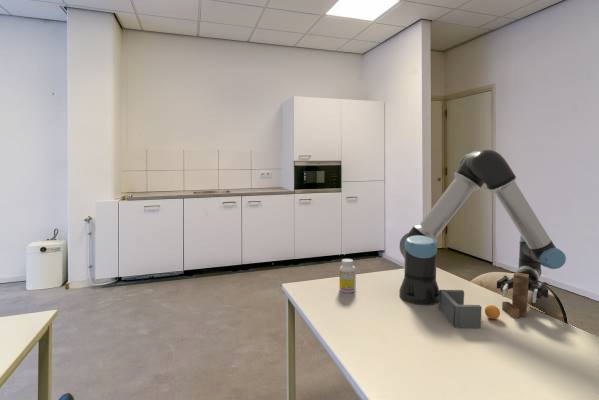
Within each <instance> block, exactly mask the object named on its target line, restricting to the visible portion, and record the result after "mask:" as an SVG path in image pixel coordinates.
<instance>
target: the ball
mask: <svg viewBox="0 0 599 400" xmlns="http://www.w3.org/2000/svg"><path fill="white" fill-rule="evenodd" d="M500 311H501V310H500V309H499V307H497V305H495V304H488V305H487V306H486V307H485V308H484V314H485V316H486V317H487V318H488V319H491V320H496V319H498V318H499V317H500V315H501V312H500Z"/></svg>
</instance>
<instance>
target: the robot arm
mask: <svg viewBox="0 0 599 400" xmlns="http://www.w3.org/2000/svg"><path fill="white" fill-rule="evenodd" d="M453 174H454V179H453V180H452V182H451V183H450V184H449V186H448V187H447V188H446V189H445V191H444V192H443V193H442V195H441V196H440V198H439V199H437V201H436V203H434V205H433V207H431V209H430V211H429V212H428V213H427V215H426V216H425V217H424V218H423V219H422V221H421V222H420V223H419V224H417V225H413V226H412V228H411V229H410V230H409V232H407V233H405V234H404V235H403V236H402V237H401V239H400V241H399V251H400V253H401V255H402V256H403V259H404V277H403V280H402V283H401V286H400V288H399V298H400V299H402V300H403V301H405V302H408V303H411V304H415V305H425V306H427V305H429V306H430V305H435V304H439V290H440V288H439V285H438V282H437V259H438V258H437V257H438V256H437V255H438V253H437V252H438V246H437V245H438V236H439V235H440V234H441V233H442V231H444V229H445V228H446V226H447V225H448V224H449V223H450V221H451V220H452V218H453V217H454V216H455V215H456V213H457V212H458V211H459V210H460V209H461V207H462V206H463V204H464V203H465V202H466V201H467V199H468V198H469V197H470V195H471V194H473V192H474V191H476V190H480V189H481V188H482V187H483V186H484V185H485V186H486V187H487V188H488V189H489V191H493V192H494V194H495V195H496V197H497V199H498V200H499V202H500V203H501V205H502V206H503V208H504V210H505V211H506V213H507V214H508V216H509V218H510V219H511V221H512V223H513V225H514V226H515V228H516V229H517V230H518V232H519V234H520V239H519V252H518V253H519V255H518V256H519V257H518V267H517V268H518V269H517V271H516V272H518V273H524V274H529V283H528V292H529V291H530V292H532V293H533V294H532V303H533V304H536V302H537V299H541V298H542V297H544V298H546V299H547V298H548V299H549V288H548V282H546V281H545V282H543V281H542V282H540V283H539V280H540V278H541V275H542V266H543V267H545V268H547V269H550V270H556V269H560V268H562V267H563V266H564V265H565V264H566V260H567V258H566V254H565V252H563V251H562V250H561V249H559V248H557V247H556V245H555V244H554V243H553V241H552V239H551V238H550V236H549V234H548V233H547V231H546V229H545V228H544V226H543V225H542V223H541V222H540V220H539V218H538V216H537V215H536V213H535V212H534V210H533V209H532V207H531V205H530V204H529V201H528V200H527V198H526V197H525V195H524V194H523V192H522V190H521V188H520V187H519V185H518V184H517V182H516V179H517V176H516V175H515V173H514V171H513V170H512V168H511V167H510V165H509V164H508V162H507V161H506V159H505V158H504V157H503V156H502V155H501V154H500V153H499V152H498V151H495V150H493V149H482V150H474V151H470V152H468V153H467V154H465V155H464V156H463V157H462V158H461V160H460V162H459V166H458V168H457V169H456V170H455V172H454V173H453ZM513 278H514V276H512V277H511V278H510V277H509V276H508V275H503V277H502V278H499V280H497V281H496V289H498V290H499V289H500V292H501V293H502V297H504V298H505V297H506V296H507V294H508V292H509V290H511V289H512V290H513Z"/></svg>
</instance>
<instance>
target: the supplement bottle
mask: <svg viewBox="0 0 599 400" xmlns="http://www.w3.org/2000/svg"><path fill="white" fill-rule="evenodd" d="M341 264H342V265H340V267H339V290H340V291H341V292H342V293H348V294H349V293H350V294H351V293H353V292H355V291H356V289H357V288H356V287H357V286H356V280H357V279H356V277H357V275H356V271H357V269H356V266H354V260H353V259H352V258H343V259H341Z"/></svg>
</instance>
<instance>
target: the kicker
mask: <svg viewBox="0 0 599 400" xmlns="http://www.w3.org/2000/svg"><path fill="white" fill-rule="evenodd" d="M513 277H514V278H513V288H512V303H511V302H509V301H502V303H501V304H502V305H501V308H502V309H501V310H502V311H503V312H504V313H505V314H507V315H508V316H509V317H510V318H511V319H519V318H521V317H522V318H526V317H527V314H528V300H529V299H528V297H529V296H528V295H529V290H528V283H529V274H524V273H518V272H517V271H515V272H514V274H513Z"/></svg>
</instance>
